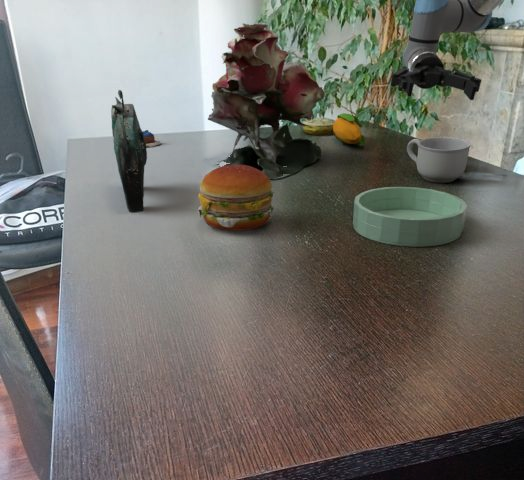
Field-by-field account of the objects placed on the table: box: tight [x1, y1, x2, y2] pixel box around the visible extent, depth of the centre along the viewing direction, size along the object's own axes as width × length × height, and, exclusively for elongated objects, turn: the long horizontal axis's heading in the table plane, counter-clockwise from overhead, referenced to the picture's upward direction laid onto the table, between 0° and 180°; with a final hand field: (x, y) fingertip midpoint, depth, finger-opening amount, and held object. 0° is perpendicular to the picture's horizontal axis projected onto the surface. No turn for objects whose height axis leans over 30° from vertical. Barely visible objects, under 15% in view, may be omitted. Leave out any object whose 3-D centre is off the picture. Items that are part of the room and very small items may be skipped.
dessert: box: [142, 129, 162, 148], centre depth 159 cm, size 8×7×6 cm
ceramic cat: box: [110, 89, 148, 213], centre depth 111 cm, size 20×6×20 cm, turn 12°
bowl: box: [352, 186, 468, 248], centre depth 98 cm, size 19×19×4 cm
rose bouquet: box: [207, 22, 326, 180], centre depth 133 cm, size 26×29×30 cm
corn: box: [332, 112, 366, 147], centre depth 155 cm, size 7×8×20 cm
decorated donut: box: [301, 117, 336, 136], centre depth 171 cm, size 10×11×4 cm
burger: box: [197, 165, 275, 231], centre depth 100 cm, size 14×14×10 cm
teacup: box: [406, 136, 472, 184], centre depth 125 cm, size 14×11×8 cm
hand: (442, 91), depth 124 cm, fingers open, 13 cm apart
